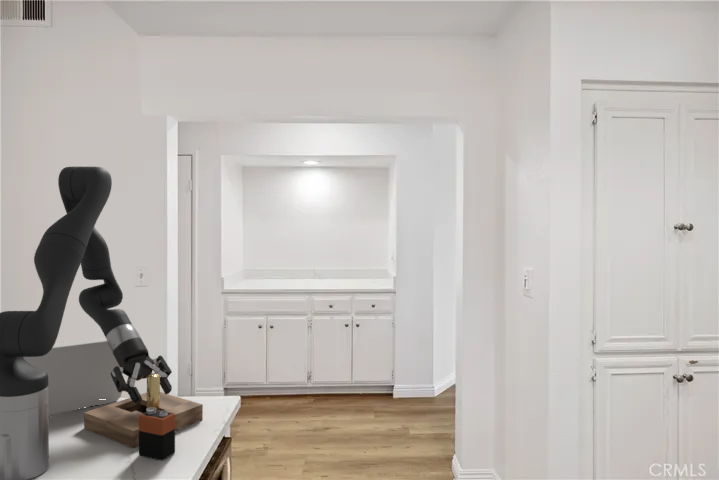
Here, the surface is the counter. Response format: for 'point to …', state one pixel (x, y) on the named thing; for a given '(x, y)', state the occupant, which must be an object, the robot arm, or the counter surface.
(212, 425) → the counter surface
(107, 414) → the walnut keyhole plate
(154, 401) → the brass peg
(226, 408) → the counter surface
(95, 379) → the grey rounded panel
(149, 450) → the battery
